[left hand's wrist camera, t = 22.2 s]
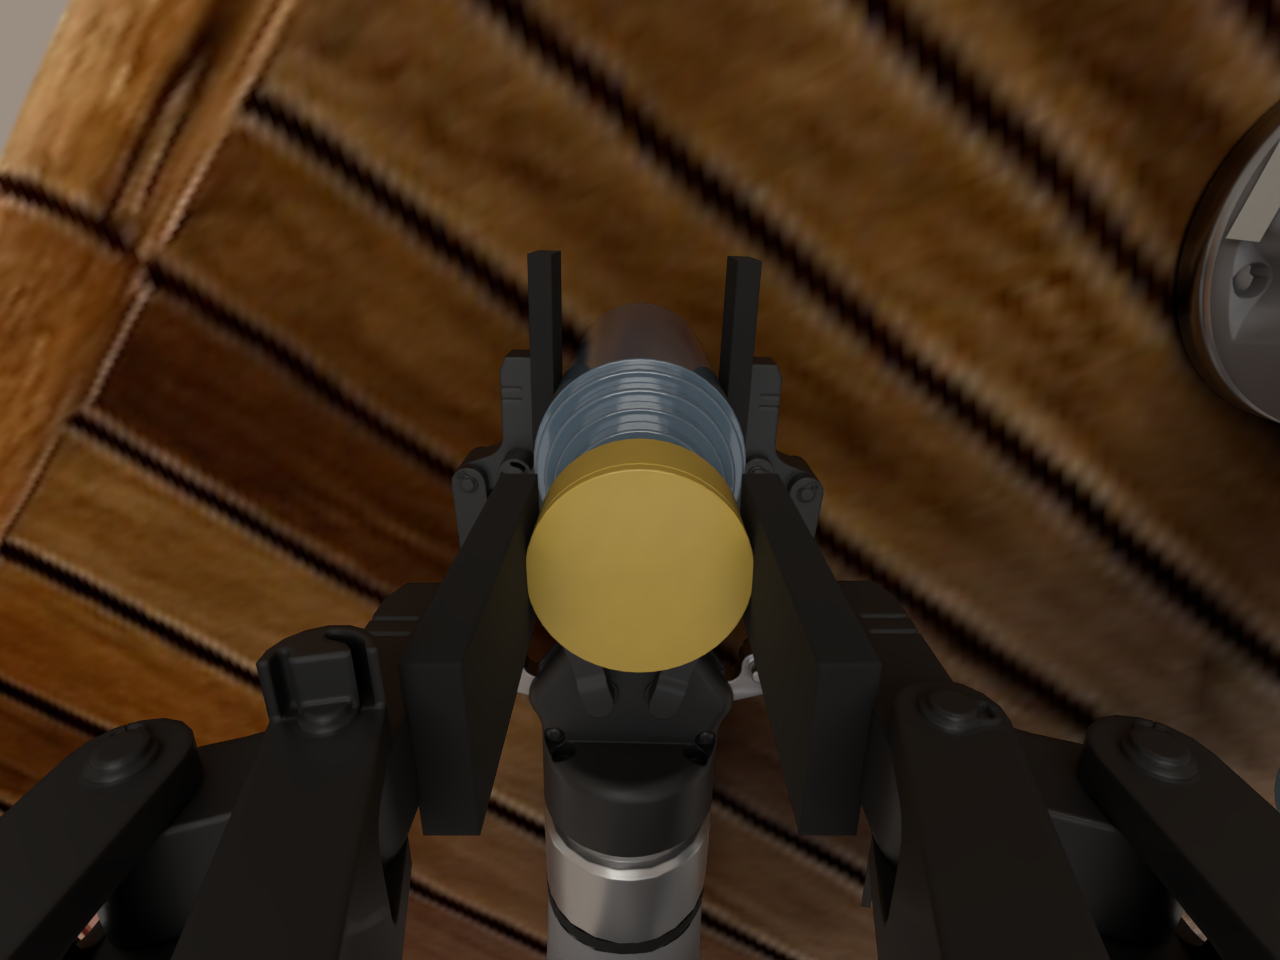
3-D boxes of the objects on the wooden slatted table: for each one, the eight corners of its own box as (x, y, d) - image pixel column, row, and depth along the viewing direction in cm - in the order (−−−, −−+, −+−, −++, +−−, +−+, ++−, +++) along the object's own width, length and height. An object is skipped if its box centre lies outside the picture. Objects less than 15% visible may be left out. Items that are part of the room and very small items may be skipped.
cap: (769, 468, 14) (787, 503, 12) (705, 640, 16) (714, 694, 14) (564, 413, 14) (553, 442, 12) (519, 595, 15) (503, 645, 13)
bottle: (613, 277, 29) (575, 359, 12) (729, 344, 30) (846, 506, 13) (552, 394, 31) (445, 609, 14) (664, 453, 32) (692, 721, 15)
